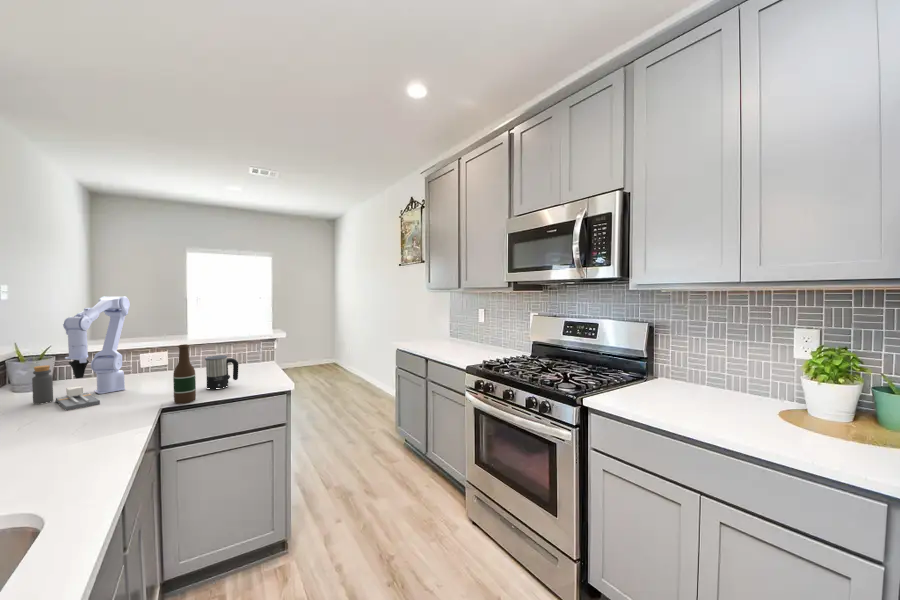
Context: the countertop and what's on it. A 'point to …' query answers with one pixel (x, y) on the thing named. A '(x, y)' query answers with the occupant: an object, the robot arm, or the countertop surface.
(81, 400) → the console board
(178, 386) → the beer bottle
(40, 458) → the countertop surface
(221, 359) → the milk frother
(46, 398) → the bottle
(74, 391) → the fader tab
